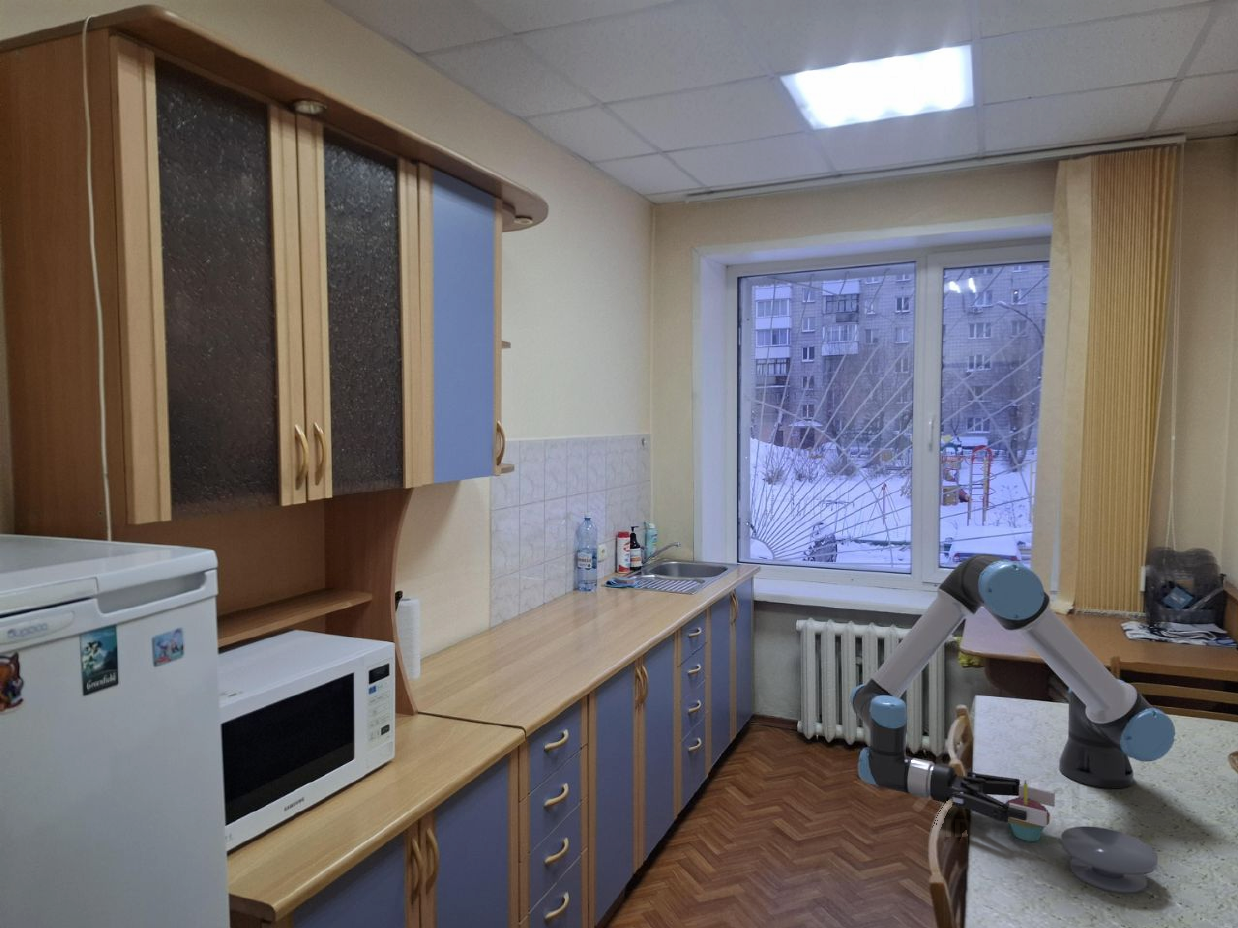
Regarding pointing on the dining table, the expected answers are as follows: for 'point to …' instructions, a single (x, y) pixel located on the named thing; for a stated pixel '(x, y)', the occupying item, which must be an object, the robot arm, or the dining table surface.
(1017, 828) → the cupcake
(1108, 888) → the cake stand
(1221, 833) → the dining table surface
